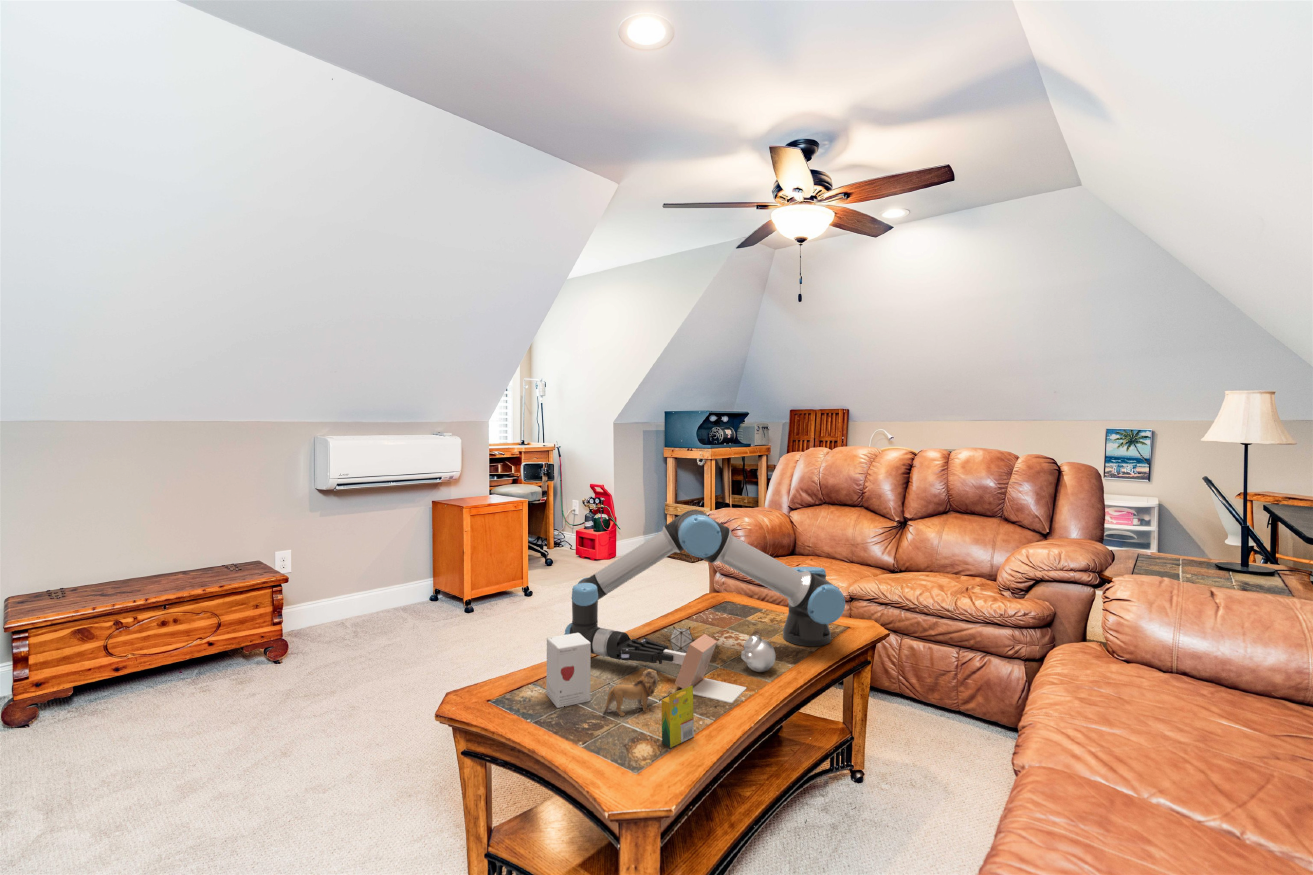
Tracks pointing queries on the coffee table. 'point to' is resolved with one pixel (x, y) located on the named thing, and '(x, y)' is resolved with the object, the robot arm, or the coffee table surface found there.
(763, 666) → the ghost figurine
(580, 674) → the supplement box
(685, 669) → the peach rectangular block
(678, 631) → the game die
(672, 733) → the crayon box
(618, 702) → the lion figurine
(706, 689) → the felt mat
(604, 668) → the coffee table surface
